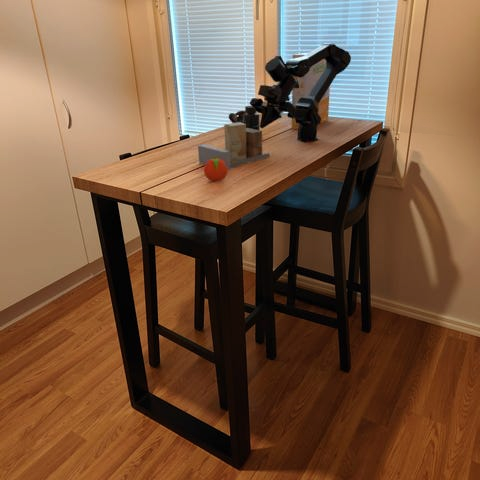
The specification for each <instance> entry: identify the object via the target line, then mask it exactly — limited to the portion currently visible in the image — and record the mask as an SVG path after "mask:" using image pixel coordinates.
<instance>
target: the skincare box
mask: <svg viewBox="0 0 480 480" xmlns="http://www.w3.org/2000/svg"><path fill="white" fill-rule="evenodd" d="M223 125H224V150H227V151H230V163H233V162H237V161H240V160H244V159H247V157H246V124H244V123H241V122H239V123H232V122H231V123H225V124H223Z"/></svg>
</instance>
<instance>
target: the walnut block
mask: <svg viewBox="0 0 480 480" xmlns="http://www.w3.org/2000/svg"><path fill="white" fill-rule="evenodd" d="M261 154H263V131H262V130H255V129H250V128H246V159H247V158H251V157H254V156H258V155H261Z"/></svg>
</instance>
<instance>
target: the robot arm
mask: <svg viewBox="0 0 480 480" xmlns="http://www.w3.org/2000/svg"><path fill="white" fill-rule="evenodd" d="M307 53H308V54H306V55H305V56H303V57H299V58H294V59H293V58H291V59H288V60H287V61H286V62H285V61H284V59H283V57H282V56H281V55H275V56H274V58H271V59H270V60H268V62H266V64H265V67H264V69H265V71H266V72H267V74H268V76H270V78H271V79H272V80H273V81H272V82H274V83H277V84H273V85H265V84H260V85H259V89H258V92H257V95H258V96H261V97H264V98H263V99H264V100H263V99H262V98H259V97H253V98H251V100H250V101H249V104H250V105H249V106H252V107H253V108H254V109H255V110H256V112H257V113H258V114H261V118H260V129H264V128H266V127H267V126H269V125H271V124H272V123H274V122H275V121H277V120H279V119H282V114H283V113H287V114H286V115H287V117H288V119H292V118H294V117H295V121H296V123H300V124H299V128H298V130H297V137H296V139H297V140H300V141H301V142H304V143H305V142H313V141H319V138H318V137H317V131H318V129H317V127H318V126H319V125H321V124H320V122H321V117H320V116H319V114H318V111H319V108H318V104H319V102H320V100H321V99H322V97H323V96H324V94H325V93H326V91H327V89H328V88H329V86H330V87H331V85H332V83H333V81H334V80H335V78H336V77H337V75H339V74H341V73H342V72H344V71H345V70H346V69H347V68H348V67H349V65H350V63H351V60H352V57H351V54H350V52H349V51H347V50H345V49H343V48H341V47H339V46H337V45H336V44H334V43H333V42H324V43H322V44H321V45H320V46H318V47H316V48H314V49H313V50H312V51H310V52H307ZM323 59H325V60H326V69H325V70H324V72H323V74H322V75H321V77H320V78H319V80H318V81H317V83H316V85H315V86H314V88H313V89H312V91H311V92H310V94H309V95H308V97H306V98H303V97H301V98H300V99H299V101H298V103H297V104H296V105H295V106H296V107H294V106H293V105H292V101H290V100H291V98H290V95H291V94H292V90H293V88H297V89H299V84H298V80H295V78H294V77H304V76H305V75H306V74H307V73H308V72H309V70H310V68H311V67H312V66H313V65H315V64H317V63H318V62H320V61H321V60H323ZM318 124H319V125H318Z"/></svg>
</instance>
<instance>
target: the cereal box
mask: <svg viewBox="0 0 480 480" xmlns="http://www.w3.org/2000/svg"><path fill="white" fill-rule="evenodd" d="M308 53H309V52H303V53H298V54H297V53H295V54H292V59H294V58H299V57H303V56H305V55H306V54H308ZM325 69H326V60H325V59H323V60H321V61H320V62H318V63H317V64H315V65H313V66H312V67H311V68H310V70H309V72H308V73H307V74H306V75H305V76H304V77H294V78H295V80H298V84H299V89H297V88H293V90H292V92H291V95H292V96H291V103H292V105H293V106H294V107H296V106H295V105H296V104H297V103H298V101H299V99H300V98H301V97H303V98H306V97H308V95H309V94H310V92H311V91H312V89H313V88H314V86H315V85H316V83H317V81H318V80H319V78H320V77H321V75H322V74H323V72H324V70H325ZM330 88H331V85H330V86H329V88H328V89H327V91H326V93H325V94H324V96H323V97H322V99H321V100H320V102H319V104H318V108H319V111H318V114H319V116H320V117H321V122H320V124H318V125H317V126H319V125H321V123H322V124H324V122H325V123H326V121H327V122H329V110H330V92H331V91H330V90H331V89H330ZM299 124H300V123H296V121H295V117H294V118H291V130H295V129H298V128H299Z"/></svg>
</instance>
